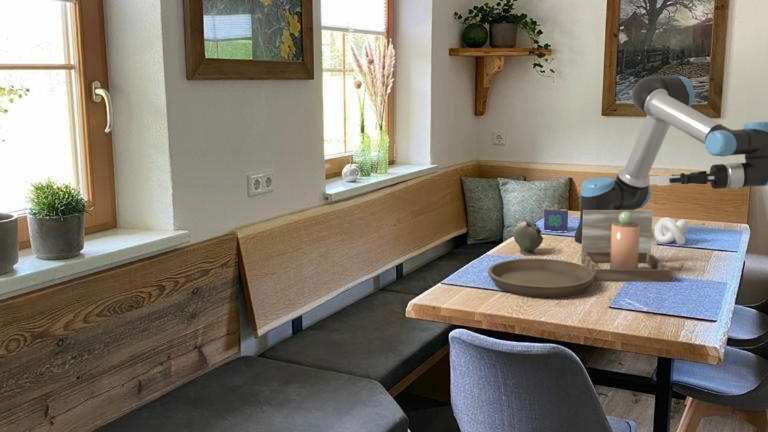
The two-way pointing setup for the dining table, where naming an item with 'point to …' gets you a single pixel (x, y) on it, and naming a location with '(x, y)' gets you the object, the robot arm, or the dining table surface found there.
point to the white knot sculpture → (670, 230)
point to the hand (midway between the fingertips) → (653, 180)
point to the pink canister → (624, 243)
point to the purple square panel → (556, 219)
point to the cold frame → (599, 247)
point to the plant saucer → (541, 277)
